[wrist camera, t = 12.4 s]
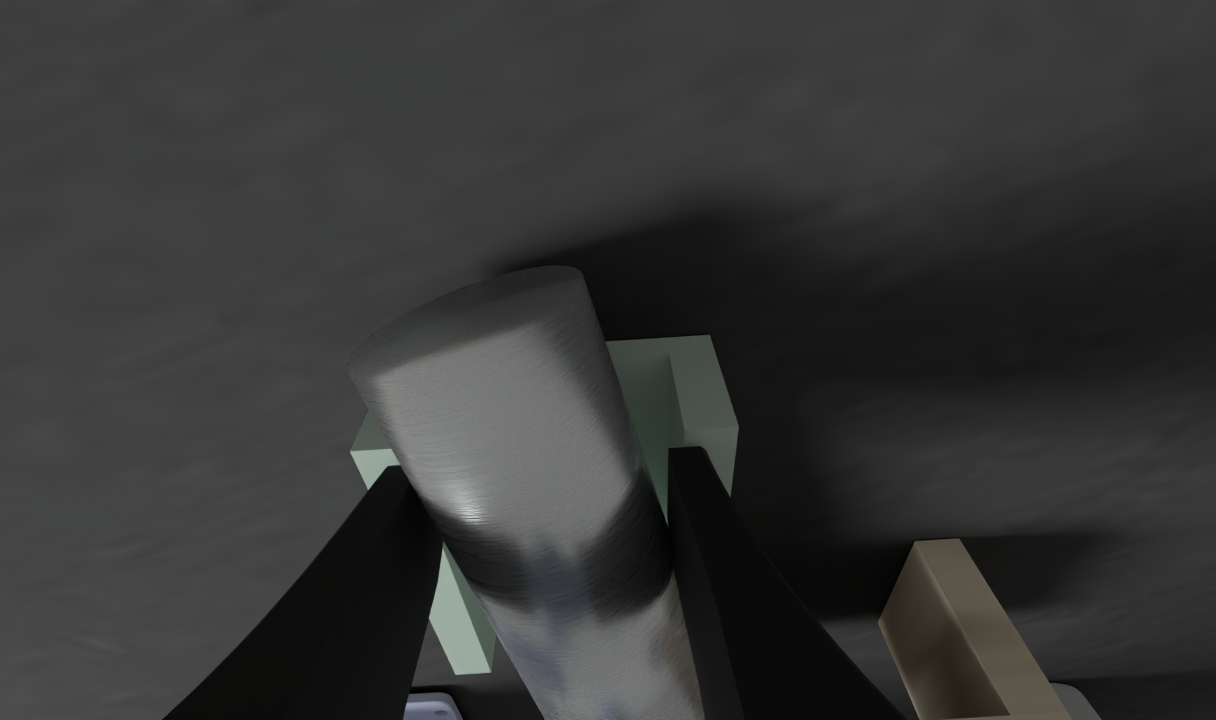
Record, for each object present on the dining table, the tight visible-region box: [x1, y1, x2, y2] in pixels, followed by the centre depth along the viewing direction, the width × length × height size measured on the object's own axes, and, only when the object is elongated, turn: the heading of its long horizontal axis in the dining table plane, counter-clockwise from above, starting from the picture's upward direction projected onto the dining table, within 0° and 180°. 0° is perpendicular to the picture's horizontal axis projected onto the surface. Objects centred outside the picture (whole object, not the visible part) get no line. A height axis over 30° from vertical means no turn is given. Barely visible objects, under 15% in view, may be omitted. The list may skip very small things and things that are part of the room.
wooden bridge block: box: [878, 538, 1072, 720], centre depth 17 cm, size 5×8×6 cm, turn 93°
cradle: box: [350, 335, 739, 675], centre depth 14 cm, size 9×7×3 cm
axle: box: [346, 266, 705, 720], centre depth 12 cm, size 12×4×4 cm, turn 18°
